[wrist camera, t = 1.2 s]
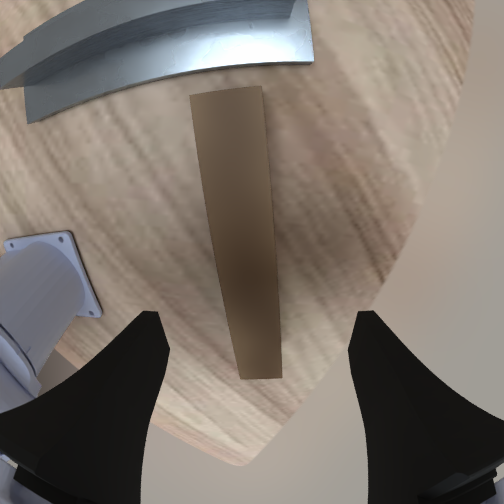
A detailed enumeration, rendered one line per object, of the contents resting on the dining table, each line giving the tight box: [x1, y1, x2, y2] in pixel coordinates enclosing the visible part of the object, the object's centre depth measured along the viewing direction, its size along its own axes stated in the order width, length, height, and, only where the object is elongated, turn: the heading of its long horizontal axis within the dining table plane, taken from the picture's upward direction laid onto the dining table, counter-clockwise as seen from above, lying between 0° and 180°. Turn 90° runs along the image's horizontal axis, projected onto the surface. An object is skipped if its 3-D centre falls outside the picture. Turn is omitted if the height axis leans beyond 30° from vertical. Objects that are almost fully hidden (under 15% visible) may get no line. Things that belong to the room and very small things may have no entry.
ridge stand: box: [0, 0, 314, 124], centre depth 9 cm, size 18×7×5 cm, turn 94°
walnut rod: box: [189, 86, 282, 379], centre depth 16 cm, size 3×18×4 cm, turn 6°
